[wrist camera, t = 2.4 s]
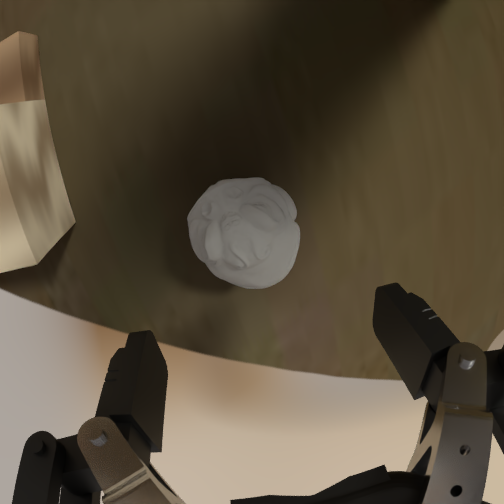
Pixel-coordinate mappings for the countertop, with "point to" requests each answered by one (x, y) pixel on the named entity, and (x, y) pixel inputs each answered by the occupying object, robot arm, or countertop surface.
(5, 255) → the plinth
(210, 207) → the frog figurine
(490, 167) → the countertop surface
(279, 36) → the countertop surface
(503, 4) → the countertop surface
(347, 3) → the countertop surface
